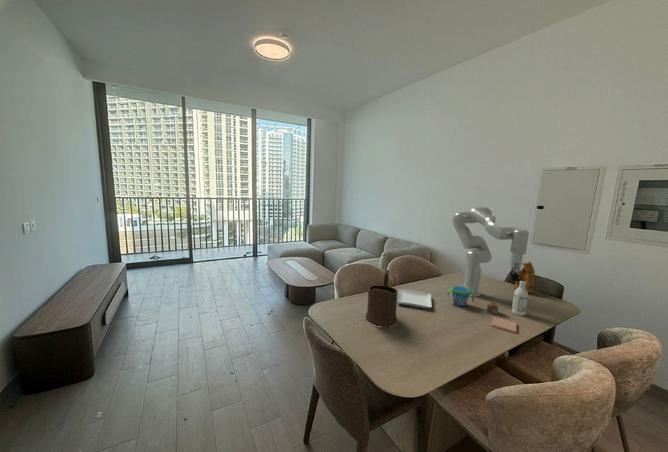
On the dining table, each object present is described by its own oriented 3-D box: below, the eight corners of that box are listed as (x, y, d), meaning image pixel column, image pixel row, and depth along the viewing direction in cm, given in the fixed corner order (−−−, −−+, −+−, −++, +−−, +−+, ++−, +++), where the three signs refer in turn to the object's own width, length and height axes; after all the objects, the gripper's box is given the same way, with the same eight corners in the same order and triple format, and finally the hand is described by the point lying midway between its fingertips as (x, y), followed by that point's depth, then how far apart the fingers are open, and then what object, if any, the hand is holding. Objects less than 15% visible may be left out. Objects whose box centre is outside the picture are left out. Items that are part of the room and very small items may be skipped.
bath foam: (527, 314, 156) (532, 282, 152) (521, 316, 152) (526, 284, 149) (515, 309, 162) (520, 279, 159) (508, 311, 159) (513, 280, 156)
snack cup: (471, 303, 169) (473, 288, 167) (474, 310, 159) (476, 294, 157) (446, 298, 174) (447, 284, 173) (446, 305, 164) (448, 290, 163)
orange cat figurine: (511, 290, 193) (515, 261, 189) (519, 287, 199) (523, 259, 196) (526, 295, 184) (531, 265, 181) (534, 291, 191) (539, 263, 187)
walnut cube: (486, 312, 156) (487, 304, 156) (487, 309, 161) (488, 301, 160) (497, 315, 153) (498, 306, 153) (497, 312, 158) (498, 303, 157)
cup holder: (360, 323, 140) (363, 279, 136) (370, 305, 162) (372, 266, 158) (395, 331, 134) (399, 285, 130) (400, 310, 156) (403, 270, 152)
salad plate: (431, 312, 156) (432, 306, 156) (395, 305, 163) (396, 300, 162) (430, 298, 176) (431, 293, 175) (398, 293, 183) (399, 288, 182)
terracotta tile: (491, 326, 141) (491, 324, 141) (493, 318, 150) (493, 316, 149) (516, 333, 135) (516, 331, 134) (516, 324, 143) (516, 322, 143)
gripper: (510, 246, 161) (506, 273, 164) (511, 252, 146) (507, 281, 149) (524, 248, 157) (520, 275, 160) (527, 254, 142) (523, 284, 145)
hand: (514, 278), depth 154 cm, fingers open, 9 cm apart
